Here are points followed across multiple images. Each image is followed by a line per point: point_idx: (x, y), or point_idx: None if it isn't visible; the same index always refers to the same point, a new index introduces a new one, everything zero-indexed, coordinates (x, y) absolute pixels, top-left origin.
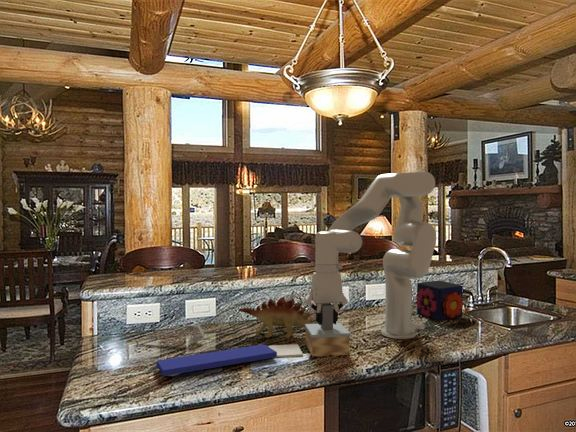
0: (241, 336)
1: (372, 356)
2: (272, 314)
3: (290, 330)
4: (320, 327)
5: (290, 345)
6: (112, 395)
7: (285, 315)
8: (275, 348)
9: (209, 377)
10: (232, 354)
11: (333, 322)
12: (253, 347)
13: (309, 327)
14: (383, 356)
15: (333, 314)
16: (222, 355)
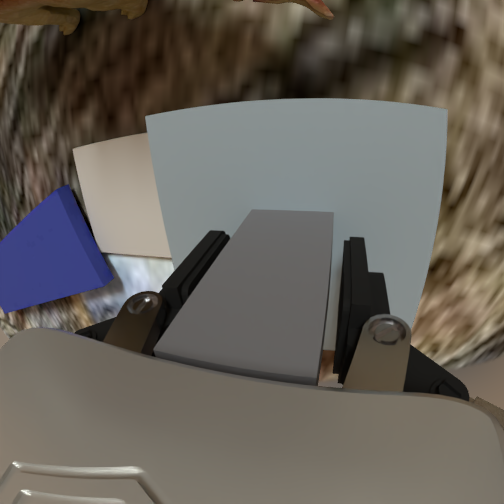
0: (17, 45)
1: (458, 309)
2: (7, 10)
3: (125, 6)
4: (249, 212)
5: (139, 147)
6: (7, 320)
7: (44, 3)
8: (95, 182)
9: (48, 314)
10: (30, 270)
11: (340, 290)
12: (43, 221)
13: (172, 201)
14: (488, 314)
15: (337, 341)
16: (21, 271)
